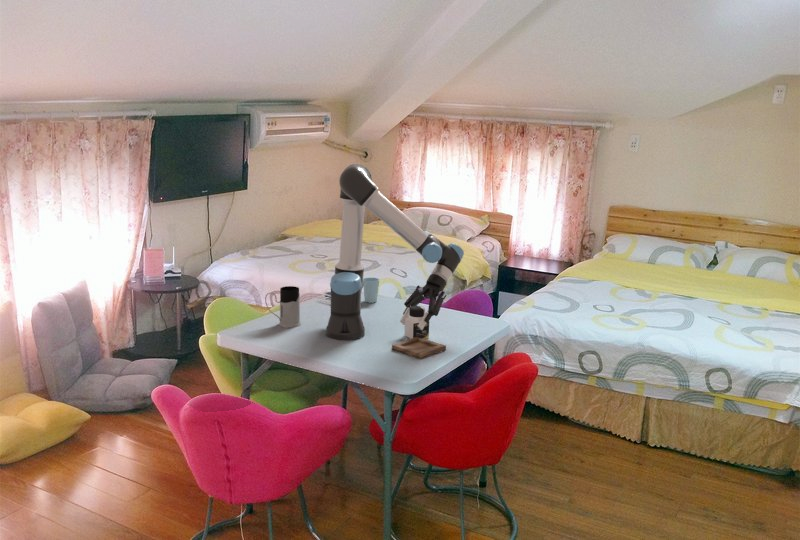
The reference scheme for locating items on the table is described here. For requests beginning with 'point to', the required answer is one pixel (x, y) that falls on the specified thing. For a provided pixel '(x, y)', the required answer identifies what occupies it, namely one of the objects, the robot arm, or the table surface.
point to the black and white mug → (288, 306)
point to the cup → (371, 289)
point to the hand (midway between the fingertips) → (410, 325)
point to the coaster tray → (418, 347)
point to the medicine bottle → (416, 323)
